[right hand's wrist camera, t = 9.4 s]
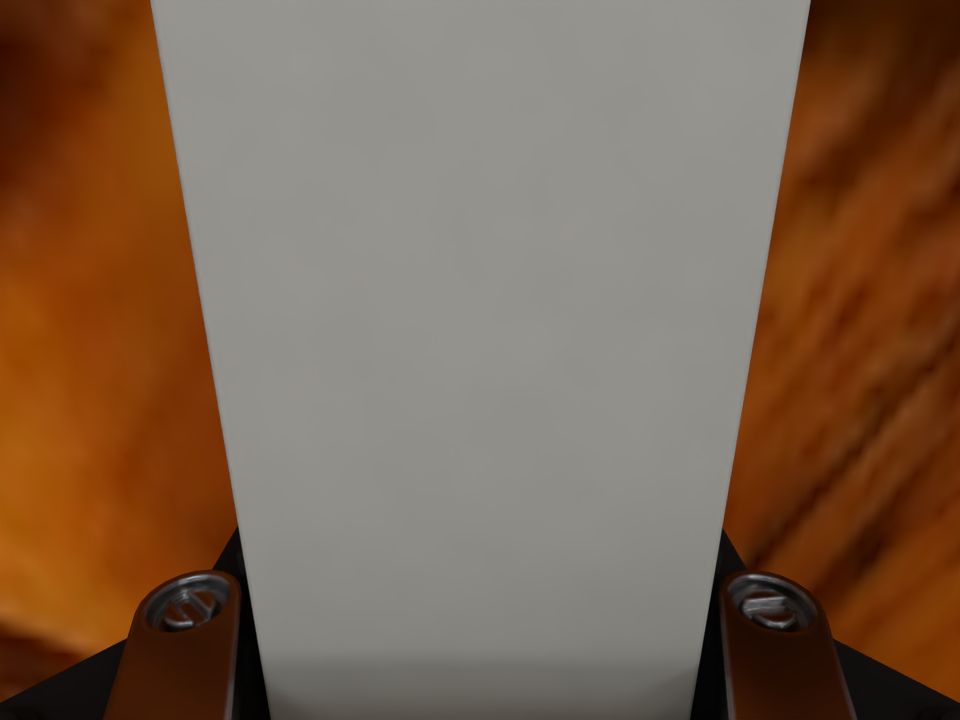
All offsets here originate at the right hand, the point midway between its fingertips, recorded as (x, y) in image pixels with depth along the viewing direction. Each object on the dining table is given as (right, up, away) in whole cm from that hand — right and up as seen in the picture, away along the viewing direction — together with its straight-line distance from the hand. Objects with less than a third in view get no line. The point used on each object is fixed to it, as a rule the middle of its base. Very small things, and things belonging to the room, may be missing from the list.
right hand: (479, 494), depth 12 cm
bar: (0, +21, -6) cm, 22 cm away
